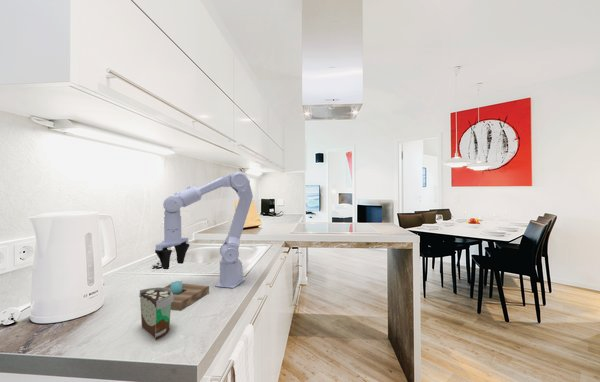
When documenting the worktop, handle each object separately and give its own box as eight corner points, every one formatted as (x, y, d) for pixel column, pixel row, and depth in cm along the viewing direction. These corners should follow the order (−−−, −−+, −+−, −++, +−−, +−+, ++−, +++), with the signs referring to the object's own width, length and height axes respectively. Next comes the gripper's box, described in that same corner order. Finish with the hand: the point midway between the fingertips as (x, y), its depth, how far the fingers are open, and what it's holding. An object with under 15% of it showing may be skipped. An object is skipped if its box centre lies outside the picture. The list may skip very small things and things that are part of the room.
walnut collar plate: (174, 289, 103) (174, 282, 103) (209, 292, 99) (209, 285, 99) (141, 305, 89) (141, 297, 89) (180, 310, 85) (180, 302, 85)
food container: (182, 332, 72) (182, 294, 72) (157, 342, 67) (157, 301, 67) (163, 318, 80) (162, 283, 80) (139, 326, 75) (139, 289, 75)
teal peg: (176, 296, 97) (176, 280, 96) (184, 297, 95) (184, 281, 95) (168, 300, 93) (168, 284, 93) (176, 301, 92) (176, 285, 92)
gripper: (177, 226, 109) (177, 260, 109) (148, 231, 95) (148, 270, 95) (192, 226, 107) (193, 261, 107) (165, 232, 93) (165, 272, 93)
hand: (173, 266), depth 101 cm, fingers open, 7 cm apart
